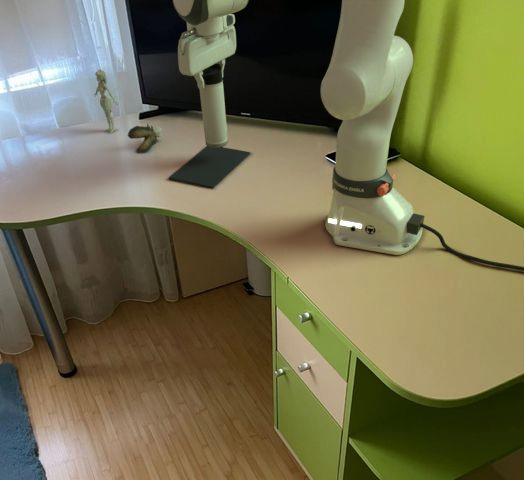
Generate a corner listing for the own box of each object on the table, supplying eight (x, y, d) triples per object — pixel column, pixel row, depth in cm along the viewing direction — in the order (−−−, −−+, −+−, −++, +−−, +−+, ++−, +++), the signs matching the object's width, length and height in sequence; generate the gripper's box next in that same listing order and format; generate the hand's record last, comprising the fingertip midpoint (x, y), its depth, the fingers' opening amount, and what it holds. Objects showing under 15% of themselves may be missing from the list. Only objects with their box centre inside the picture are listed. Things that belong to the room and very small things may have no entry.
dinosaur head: (142, 134, 172) (123, 140, 165) (151, 115, 167) (131, 121, 160) (160, 151, 172) (141, 158, 165) (169, 133, 167) (150, 139, 160)
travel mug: (233, 141, 156) (227, 64, 142) (219, 150, 152) (212, 72, 138) (215, 136, 159) (207, 61, 145) (201, 145, 155) (192, 69, 141)
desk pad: (250, 154, 161) (250, 152, 161) (212, 188, 148) (212, 186, 147) (208, 146, 166) (208, 144, 166) (168, 179, 152) (168, 177, 152)
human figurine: (97, 127, 180) (82, 68, 167) (106, 123, 182) (92, 64, 169) (119, 137, 174) (105, 76, 161) (129, 133, 176) (116, 72, 163)
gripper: (189, 36, 127) (196, 98, 137) (238, 14, 139) (242, 72, 149) (167, 33, 130) (176, 94, 139) (218, 11, 142) (223, 69, 151)
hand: (210, 83), depth 144 cm, fingers closed on travel mug, 6 cm apart
